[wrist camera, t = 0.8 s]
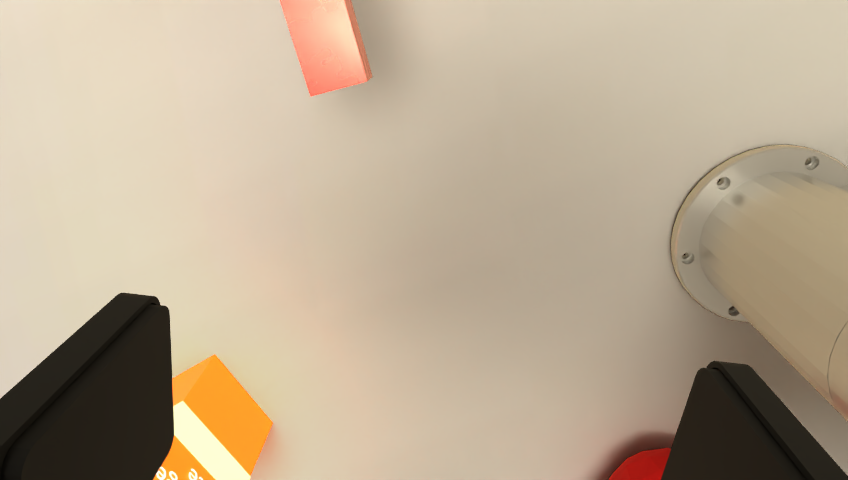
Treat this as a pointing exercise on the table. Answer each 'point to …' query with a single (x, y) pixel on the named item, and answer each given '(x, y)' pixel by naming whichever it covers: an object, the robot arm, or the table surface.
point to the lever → (327, 43)
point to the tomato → (643, 466)
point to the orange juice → (213, 426)
